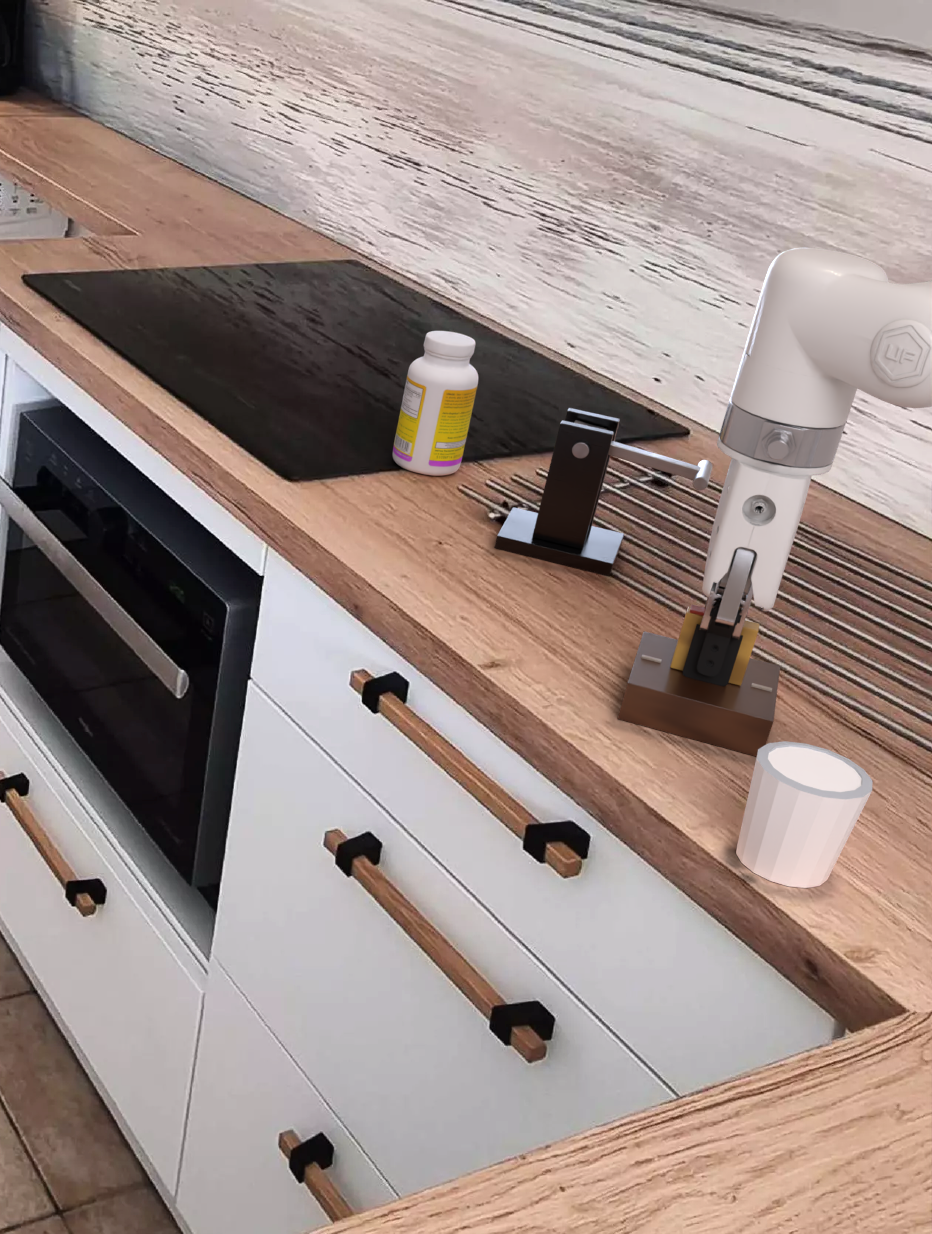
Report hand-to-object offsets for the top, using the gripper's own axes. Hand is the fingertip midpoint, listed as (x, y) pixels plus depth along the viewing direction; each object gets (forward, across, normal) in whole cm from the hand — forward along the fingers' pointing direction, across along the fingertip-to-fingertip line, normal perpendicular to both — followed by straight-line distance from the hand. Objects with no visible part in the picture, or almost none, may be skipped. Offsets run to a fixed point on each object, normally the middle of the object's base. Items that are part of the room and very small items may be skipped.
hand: (706, 672), depth 127 cm
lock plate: (+3, 0, 0) cm, 3 cm away
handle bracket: (+3, +26, +14) cm, 30 cm away
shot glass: (+3, -19, -7) cm, 21 cm away
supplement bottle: (+3, +39, +29) cm, 49 cm away
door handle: (-5, +26, +9) cm, 28 cm away
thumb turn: (0, 0, 0) cm, 0 cm away
